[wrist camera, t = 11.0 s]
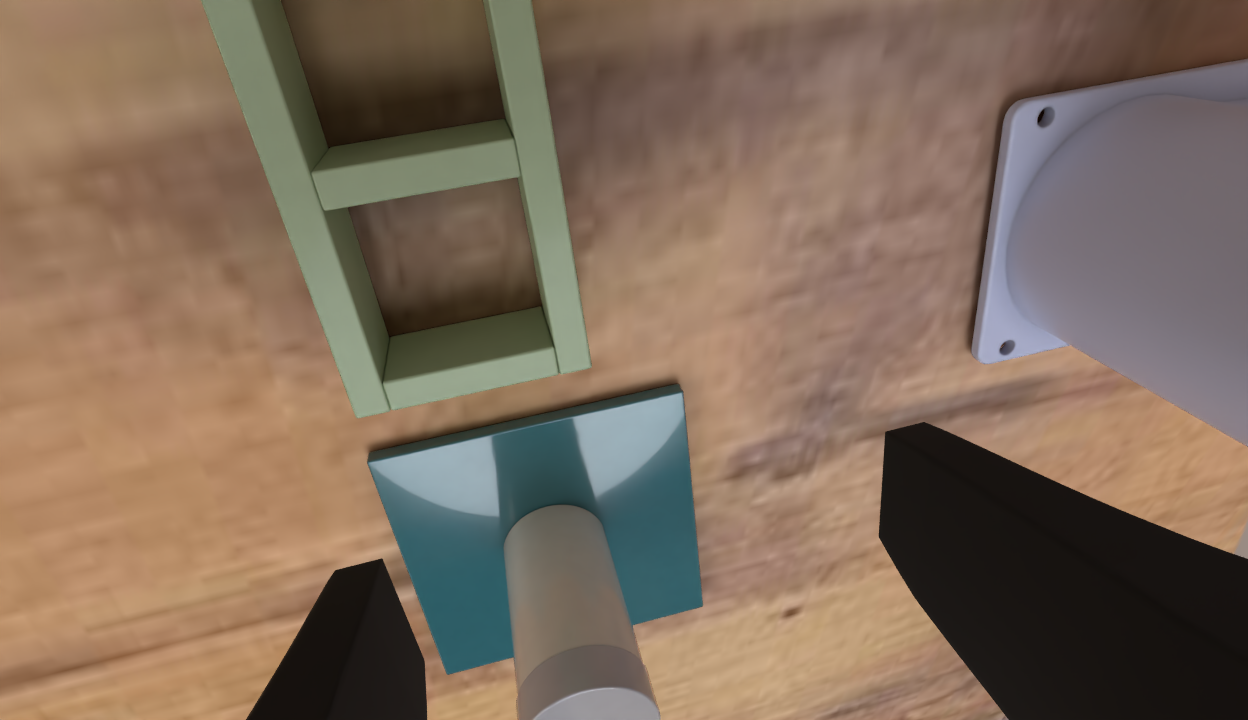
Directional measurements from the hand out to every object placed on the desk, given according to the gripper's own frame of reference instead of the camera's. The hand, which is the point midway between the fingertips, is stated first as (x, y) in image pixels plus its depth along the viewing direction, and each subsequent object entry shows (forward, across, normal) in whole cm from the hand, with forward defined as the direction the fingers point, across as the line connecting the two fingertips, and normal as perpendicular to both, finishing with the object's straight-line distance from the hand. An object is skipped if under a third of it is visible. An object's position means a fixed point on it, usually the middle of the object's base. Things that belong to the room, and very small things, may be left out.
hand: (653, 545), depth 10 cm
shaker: (+9, +2, +8) cm, 13 cm away
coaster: (+10, +2, +8) cm, 13 cm away
